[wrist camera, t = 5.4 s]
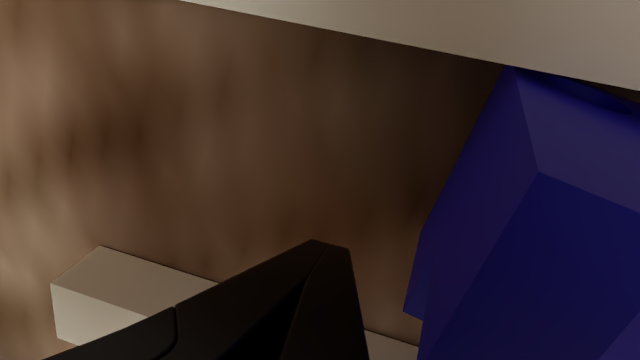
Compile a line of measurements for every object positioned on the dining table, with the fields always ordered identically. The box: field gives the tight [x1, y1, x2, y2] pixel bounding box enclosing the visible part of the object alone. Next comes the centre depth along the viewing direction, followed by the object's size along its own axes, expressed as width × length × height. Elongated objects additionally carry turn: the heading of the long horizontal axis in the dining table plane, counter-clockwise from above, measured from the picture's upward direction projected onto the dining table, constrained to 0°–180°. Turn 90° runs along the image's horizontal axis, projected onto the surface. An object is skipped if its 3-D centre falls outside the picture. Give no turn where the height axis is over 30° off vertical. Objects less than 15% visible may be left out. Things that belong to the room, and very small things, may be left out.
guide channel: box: [50, 0, 640, 360], centre depth 9 cm, size 12×24×4 cm, turn 81°
